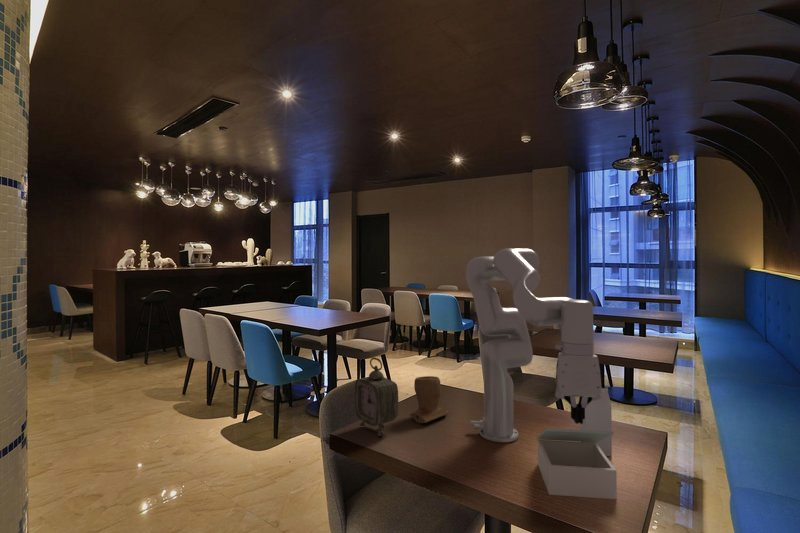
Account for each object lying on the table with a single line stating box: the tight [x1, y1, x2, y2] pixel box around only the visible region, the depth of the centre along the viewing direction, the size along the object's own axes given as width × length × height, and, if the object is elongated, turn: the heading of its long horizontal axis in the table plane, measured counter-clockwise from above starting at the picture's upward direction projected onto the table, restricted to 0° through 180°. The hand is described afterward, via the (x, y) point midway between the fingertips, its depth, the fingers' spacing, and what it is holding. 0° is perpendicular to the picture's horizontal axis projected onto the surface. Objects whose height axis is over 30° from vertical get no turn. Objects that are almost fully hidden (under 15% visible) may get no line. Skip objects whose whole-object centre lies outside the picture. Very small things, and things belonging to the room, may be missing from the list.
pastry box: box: [537, 439, 618, 500], centre depth 109 cm, size 16×16×7 cm
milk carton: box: [580, 387, 613, 457], centre depth 126 cm, size 7×7×19 cm
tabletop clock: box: [354, 357, 400, 437], centre depth 143 cm, size 14×9×25 cm, turn 38°
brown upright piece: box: [409, 375, 449, 424], centre depth 155 cm, size 15×12×15 cm
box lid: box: [536, 427, 614, 442], centre depth 110 cm, size 16×16×1 cm
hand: (577, 421), depth 105 cm, fingers closed
